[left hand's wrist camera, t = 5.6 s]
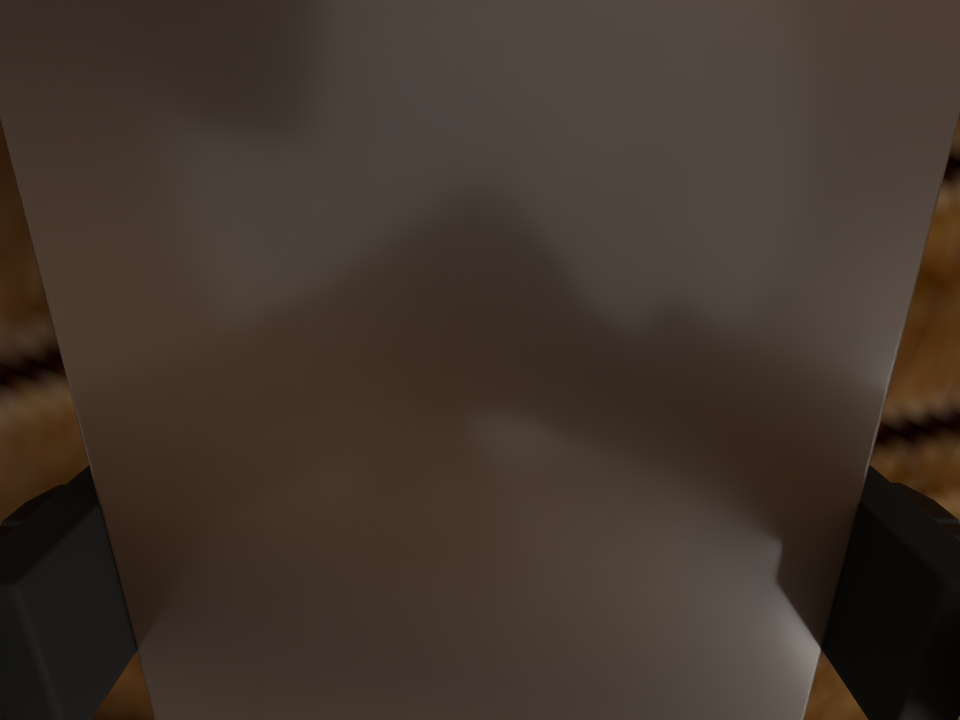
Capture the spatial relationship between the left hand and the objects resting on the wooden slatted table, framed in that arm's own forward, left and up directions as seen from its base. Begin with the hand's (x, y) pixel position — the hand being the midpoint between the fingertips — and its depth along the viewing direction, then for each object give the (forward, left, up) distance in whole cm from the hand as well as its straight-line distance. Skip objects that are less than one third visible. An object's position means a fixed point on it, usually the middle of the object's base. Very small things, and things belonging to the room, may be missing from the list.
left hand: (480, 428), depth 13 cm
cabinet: (+2, +7, -6) cm, 9 cm away
